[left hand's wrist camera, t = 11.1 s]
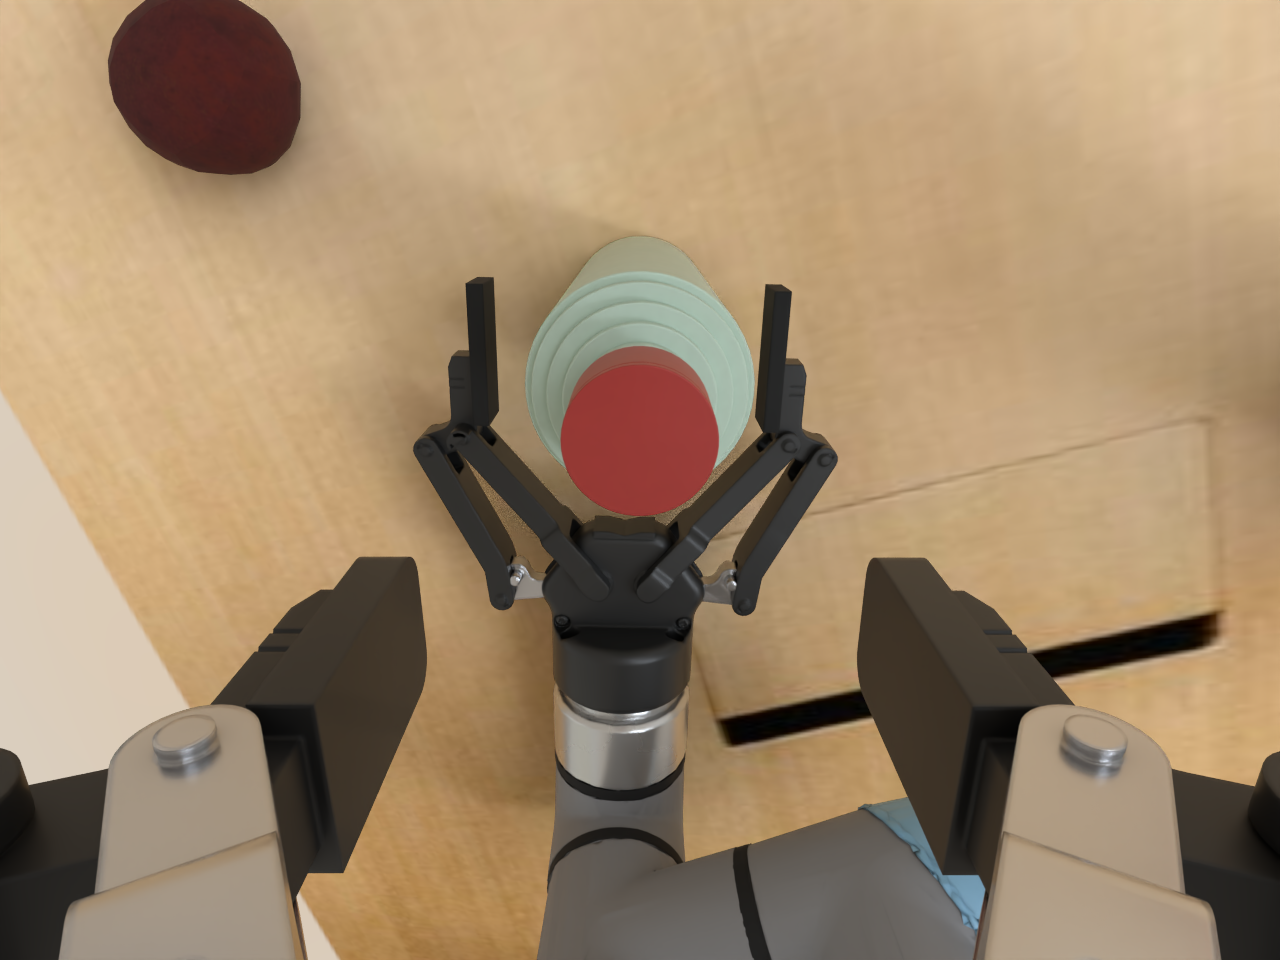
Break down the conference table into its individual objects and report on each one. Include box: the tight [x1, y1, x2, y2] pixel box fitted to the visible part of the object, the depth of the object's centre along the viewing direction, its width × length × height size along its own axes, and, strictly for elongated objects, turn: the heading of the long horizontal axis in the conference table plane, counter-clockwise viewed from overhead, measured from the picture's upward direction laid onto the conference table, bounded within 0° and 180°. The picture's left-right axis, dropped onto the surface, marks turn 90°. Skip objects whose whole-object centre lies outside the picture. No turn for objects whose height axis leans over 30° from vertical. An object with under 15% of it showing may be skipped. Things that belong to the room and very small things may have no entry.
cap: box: [560, 346, 719, 516], centre depth 20 cm, size 4×4×2 cm
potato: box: [108, 0, 301, 175], centre depth 35 cm, size 7×8×7 cm
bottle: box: [525, 236, 755, 469], centre depth 31 cm, size 7×7×24 cm
